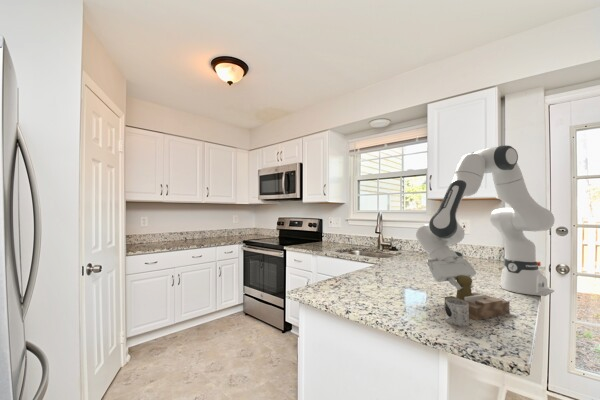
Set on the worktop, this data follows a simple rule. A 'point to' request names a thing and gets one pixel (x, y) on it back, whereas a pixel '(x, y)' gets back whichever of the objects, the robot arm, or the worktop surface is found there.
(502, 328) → the worktop surface
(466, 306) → the mug
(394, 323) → the worktop surface
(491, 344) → the worktop surface
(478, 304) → the walnut dock
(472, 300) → the latch tongue
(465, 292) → the cork
